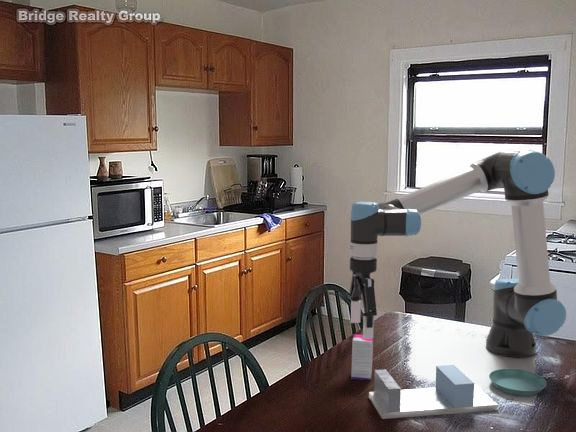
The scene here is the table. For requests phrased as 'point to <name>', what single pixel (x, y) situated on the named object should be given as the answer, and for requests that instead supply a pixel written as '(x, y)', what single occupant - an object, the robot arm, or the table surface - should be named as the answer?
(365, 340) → the supplement box
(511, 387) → the saucer
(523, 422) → the table surface
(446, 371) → the block
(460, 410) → the base
